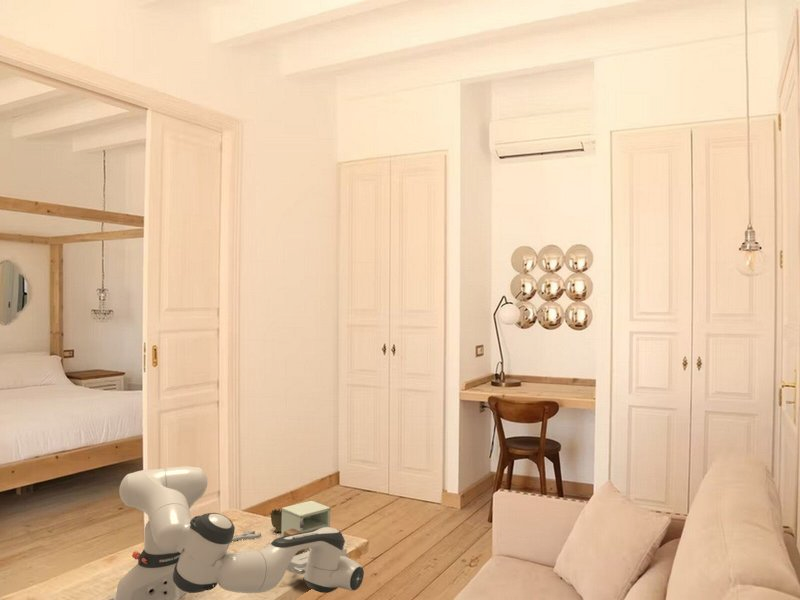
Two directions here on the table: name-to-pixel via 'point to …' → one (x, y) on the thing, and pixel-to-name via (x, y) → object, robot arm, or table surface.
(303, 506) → the cabinet
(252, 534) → the adjustable wrench
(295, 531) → the brown wooden tall block
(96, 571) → the table surface
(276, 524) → the brown hollow round piece
